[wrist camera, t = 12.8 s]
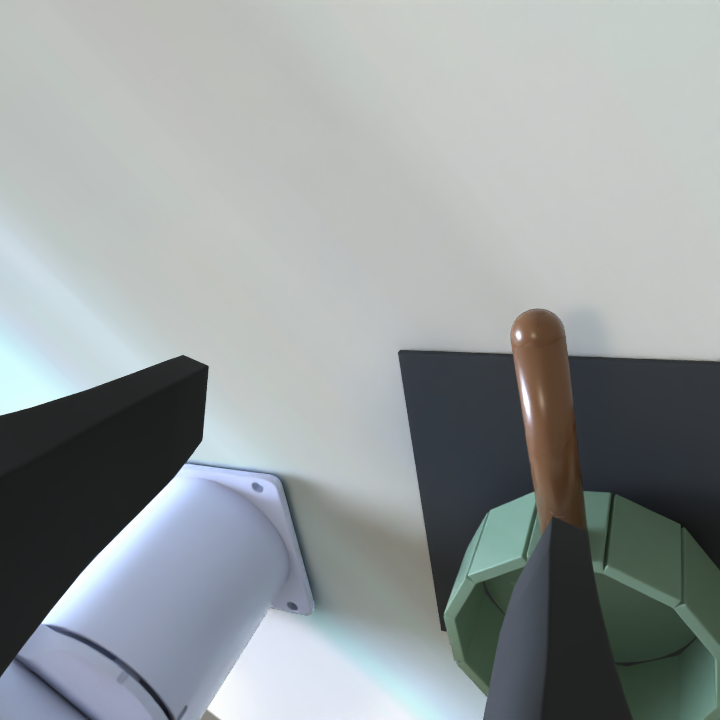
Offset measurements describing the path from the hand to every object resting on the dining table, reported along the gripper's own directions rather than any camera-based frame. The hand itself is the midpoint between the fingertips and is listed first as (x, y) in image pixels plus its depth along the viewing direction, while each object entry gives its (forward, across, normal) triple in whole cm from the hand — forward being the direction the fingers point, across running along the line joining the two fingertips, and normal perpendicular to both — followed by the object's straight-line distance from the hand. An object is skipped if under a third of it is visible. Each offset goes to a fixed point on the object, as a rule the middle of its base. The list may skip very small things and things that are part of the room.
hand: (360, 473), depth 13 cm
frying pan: (+9, -6, +6) cm, 12 cm away
